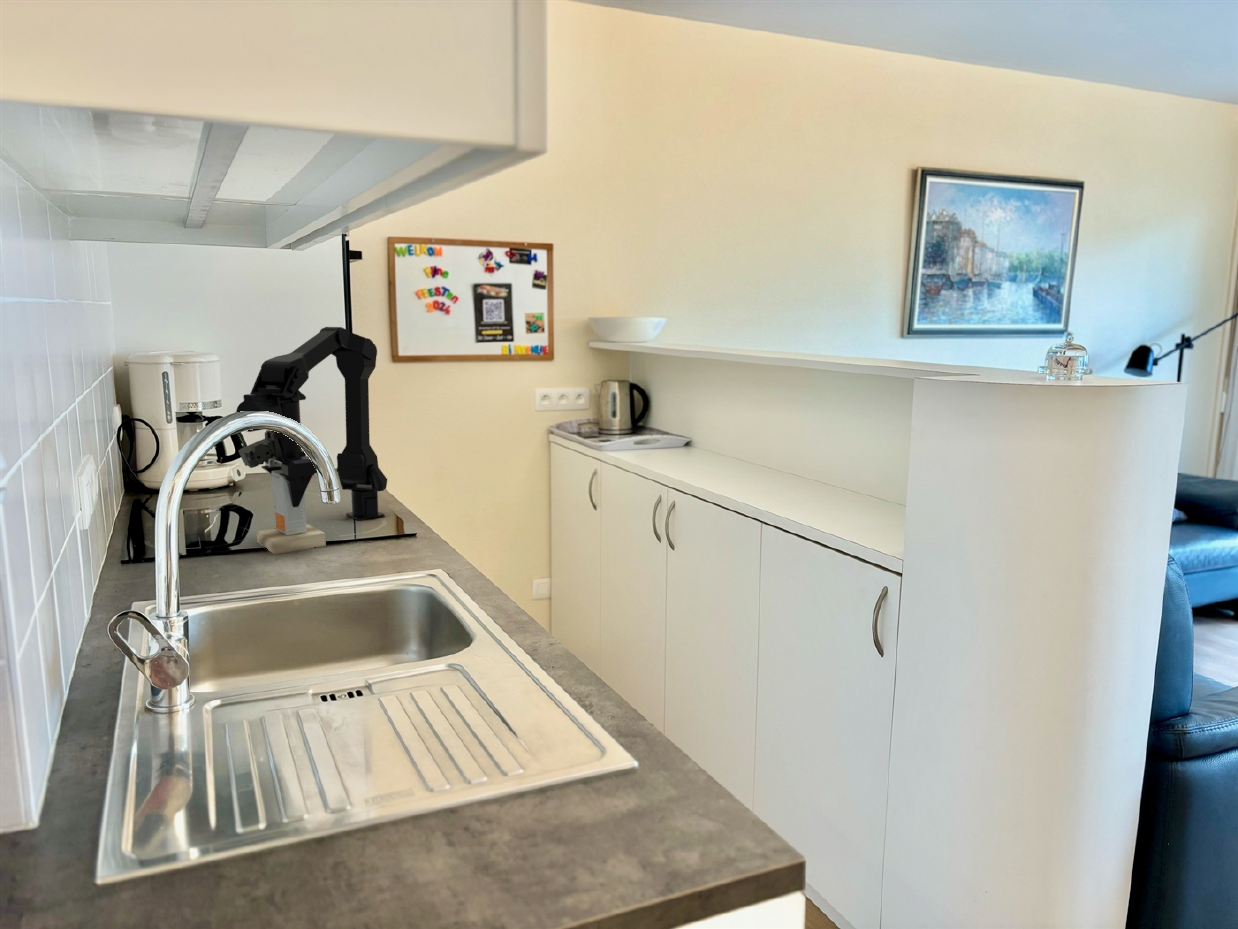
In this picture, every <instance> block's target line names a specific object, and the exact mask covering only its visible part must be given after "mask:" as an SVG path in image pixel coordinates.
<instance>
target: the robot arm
mask: <svg viewBox="0 0 1238 929" xmlns="http://www.w3.org/2000/svg"><path fill="white" fill-rule="evenodd" d="M330 355H332V356H333V357H335V361H336V367H337V369H338V371H339V372H340V374H341V375H342V377H343V379H344V399H345V400H344V402H345V406H344V408H345V441H346V442H345V447H344V448H343V450H342V452H341V453H337V455H336V462H337V465H336V466H337V467H336V473H337V475H338V479H339V482H340V485H341V486H340V487H341V488H342V490H344V491H350V492H351V493H350V494H351V512H346V513H345V515H346V516H347V517H349V518H352V519H355V520H357V521H362V520H368V519H374V518H382V517H385V513H383V512H380V511H379V496H378V495H379V492H383V491H385V489H386V490H387V486H388V478H387V476H386V475H385V474H384V473H383V471H382V470H381V469H380V467H379V461H378V460H379V459H378V456H377V453H376V452H375V451H374V449H373V447H372V445H371V443H370V441H371V440H370V401H369V400H370V398H369V392H370V391H369V390H370V389H369V379H370V377H371V376H372V374H373V372H374V370H375V368H376V367H377V366H376V364H377V356H378V348H377V346H376V344H375V343H374V341H373V340H371V338H367V337H364V336H362V335H359V334H356V333H354V332H351V331H349V330H348V329H347V328H344V327H341V326H325V327H322V328H320V330H319V332H318V333H317V334H315V335H314V336H312V337H311V338H309V339H308V340H307V341H305V342H304V343H303V344H301V345H300V346H298V347H297V348H295V349H294V350H293V351H292V352H289V353H287V354H283V355H277V356H274V357H271V358H269V359H267V360H264V362H263V363H262V364H261V366H260V370H259V372H258V374H257V377H256V379H255V380H254V381H255V382H254V384H253V385H252V389H251V390H250V393H249V394H248V393H247V394H243V401H242V402H240V403H239V404H238V406H237V407H236V410H235V413H236V412H240V411H269V412H274V413H277V414H280V415H282V416H285V417H287V418H291V419H293V420H295V421H297V422H298V423H300V425H301V424H302V422H301V409H300V408H301V405H300V404H301V403H300V402H301V401H304V400H305V401H306V400H307V397H306V395H305V394H304V393H302V392H301V391H300V389H301V388H302V386H304V385H305V383H306V382H307V381H308V380H309V378H310V372H311V370H313V369H314V368H315V367H316V366H318V365H319V364H320V363H321V362H323V361H325V360H326V359H327V358H328V357H329V356H330ZM235 413H234V414H235ZM263 430H264V429H253V430H248V431H246V433H247V432H248V433H251V432H256V431H263ZM304 451H305V450H303V448H302V449H301V447H300V446H299V445H297V443H296V442H295V441H292V440H291V439H289V437H287V436H285V435H283V434H282V433H277V432H274V431H270V430H269V429H265V432H264V438H263V439H260V440H258V441H255V442H253V443H251V444H248V445H247V446H246V445H245V446H243V447H242V448H240V449H239V450H238V454H239V455H240V458H241V460H242V463H243V464H244V466H245V467H249V468H250V469H253V468H256V467H259V466H260V465H261V466H260V467H261V468H262V470H264V471H265V472H267V473H268V474H269V475H270V476H271V477H272V471H276V470H282V472H283V473H282V474H279V475H280V476H281V477H283V478H284V479H285V480H286V481H287V484H288V489H289V494H290V499H291V503H292V506H293V507H298V506H299V504H300V502H301V500H302V497H303V495H304V496H305V492H306V491H307V488H308V486H309V484H310V482H311V480H312V478H313V476H315V474H318V473H317V471H316V470H315V468H314V466H313V464H312V462H311V460H310V459H309V457H308V456H309V455H308V456H307V453H306V454H305V453H304Z"/></svg>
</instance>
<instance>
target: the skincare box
mask: <svg viewBox="0 0 1238 929" xmlns="http://www.w3.org/2000/svg"><path fill="white" fill-rule="evenodd" d="M282 473H283V472H282V470H276V471H272V476H271V482H272V495H273V496H272V498H273V509H274V524H275V525H274V526H275V527H274V528H276V530H278V531H280V532H282V533H284V534H286V535H292V534H298V533H304V532H307V526H306V524H307V514H306V513H307V512H306V500H305V499H306V498H305V494H304V495H303V497H302V500H301V502H300V504H299V506H298V507H293V506H292V503H291V499H290V494H289V489H288V484H287V481H286V480H285V479H284V478H283V477H281V476H280V475H279V474H282Z"/></svg>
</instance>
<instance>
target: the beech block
mask: <svg viewBox="0 0 1238 929" xmlns="http://www.w3.org/2000/svg"><path fill="white" fill-rule="evenodd" d="M306 526H307V532H304V533H298V534H292V535H286V534H284V533H282V532H280V531H278V530H276V527H272V528H267V529H260V530H256V541H257V542H258V543H260V544H262V545H263V546H264V547H266V548H267V549H268V550H267V549H266V550H267V551H269V552H270V553H272V554H273V555H276V554H277V555H278V554H284V553H289V552H297V551H303V550H307V549H314V547H316V548H320V547H326V546H327V544H326V543H327V542H326V540H327V539H326V533H325V532H324V531H321V530H320V529H318V528H316V527H314V526H312V525H310V524H309V523H306ZM264 547H263V548H264Z"/></svg>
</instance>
